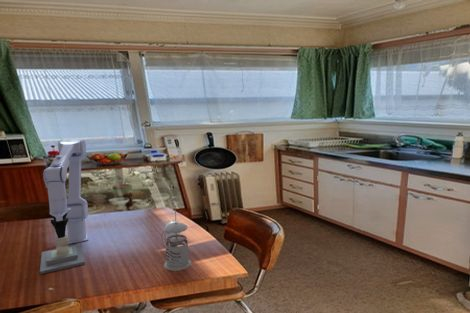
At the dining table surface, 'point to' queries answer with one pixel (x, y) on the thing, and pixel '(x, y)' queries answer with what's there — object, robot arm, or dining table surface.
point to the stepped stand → (61, 259)
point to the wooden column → (62, 245)
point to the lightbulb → (172, 233)
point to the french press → (180, 259)
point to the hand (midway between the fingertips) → (61, 233)
